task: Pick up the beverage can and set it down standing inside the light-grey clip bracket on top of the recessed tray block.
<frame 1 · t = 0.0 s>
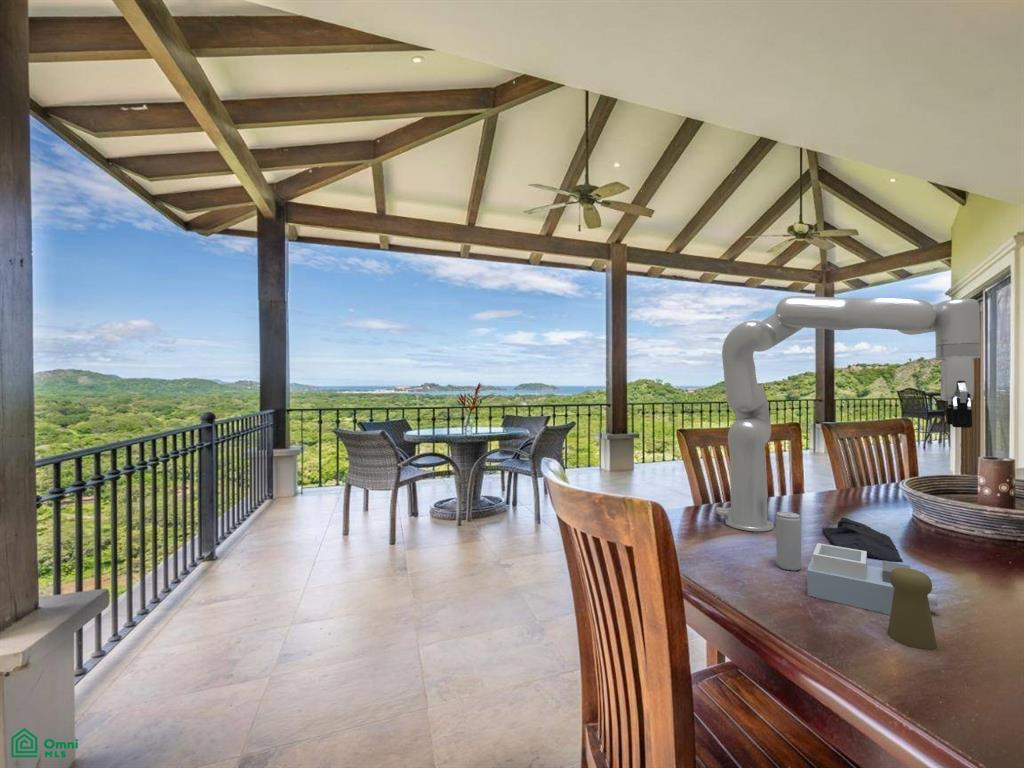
hand: (959, 425, 107), 31 cm above the table, tool pointing down, fingers open, 9 cm apart
olive pepper mill: (911, 640, 74), on the table
recessed tray block: (859, 597, 89), on the table
beverage can: (789, 568, 104), on the table
dark slate chunk: (859, 547, 118), on the table
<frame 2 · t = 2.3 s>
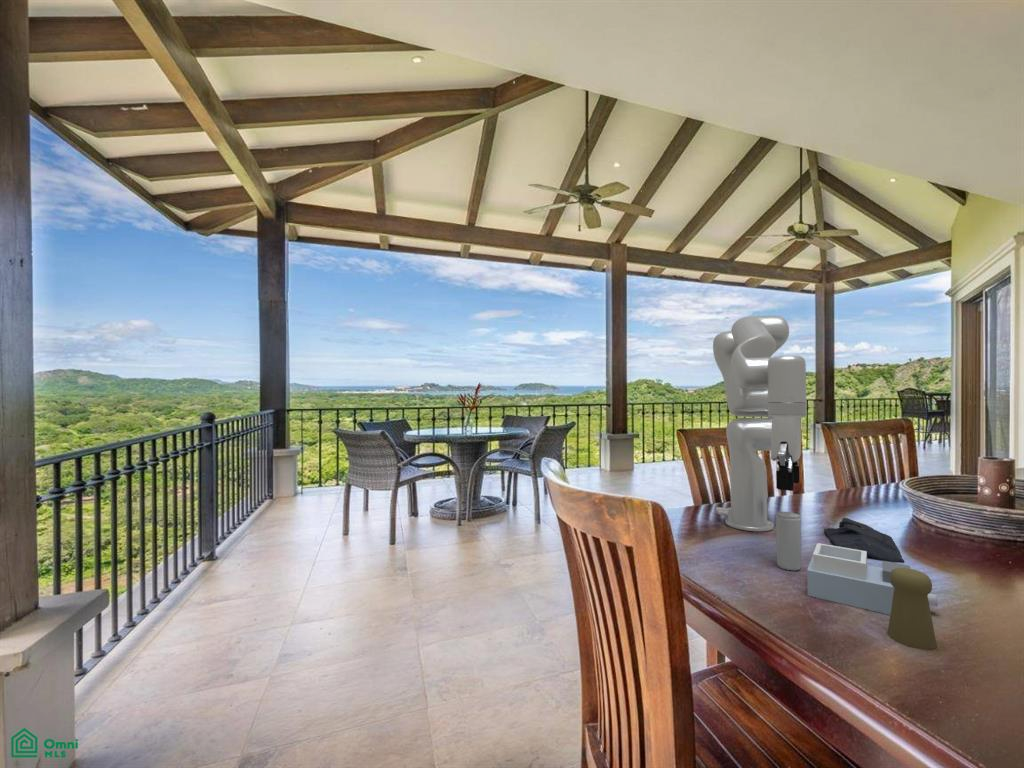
hand: (788, 486, 104), 18 cm above the table, tool pointing down, fingers open, 9 cm apart
nothing on the table moved.
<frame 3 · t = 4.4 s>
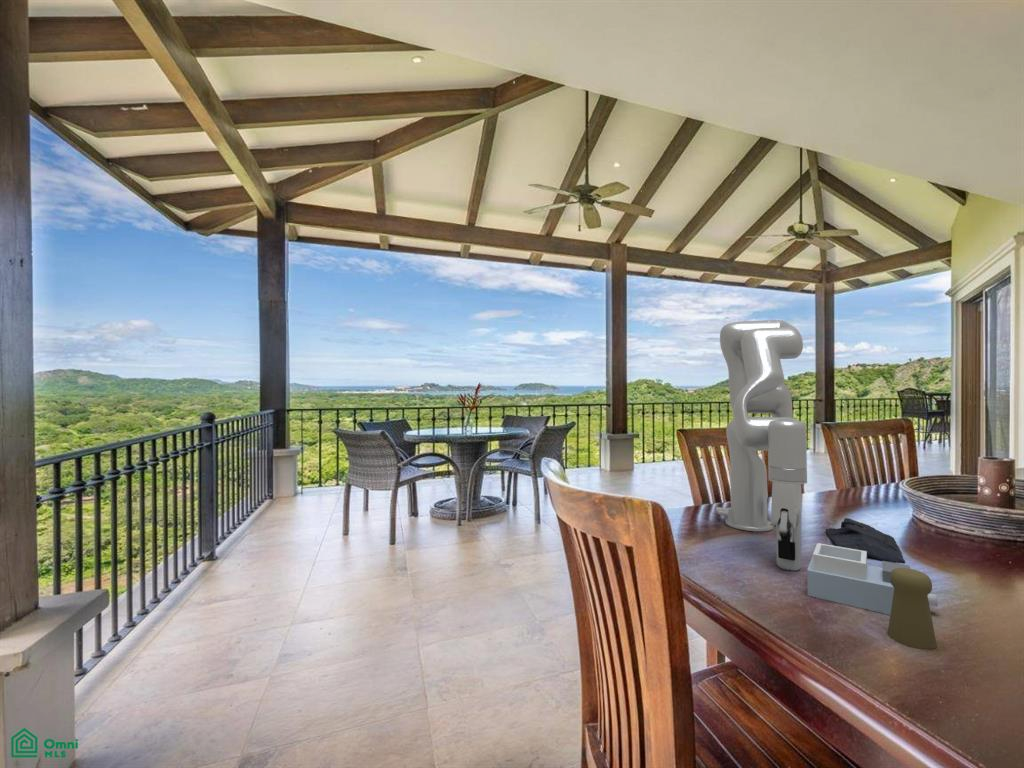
hand: (788, 554, 104), 3 cm above the table, tool pointing down, fingers closed on beverage can, 4 cm apart
beverage can: (789, 568, 104), on the table, touching gripper
everything else where it was.
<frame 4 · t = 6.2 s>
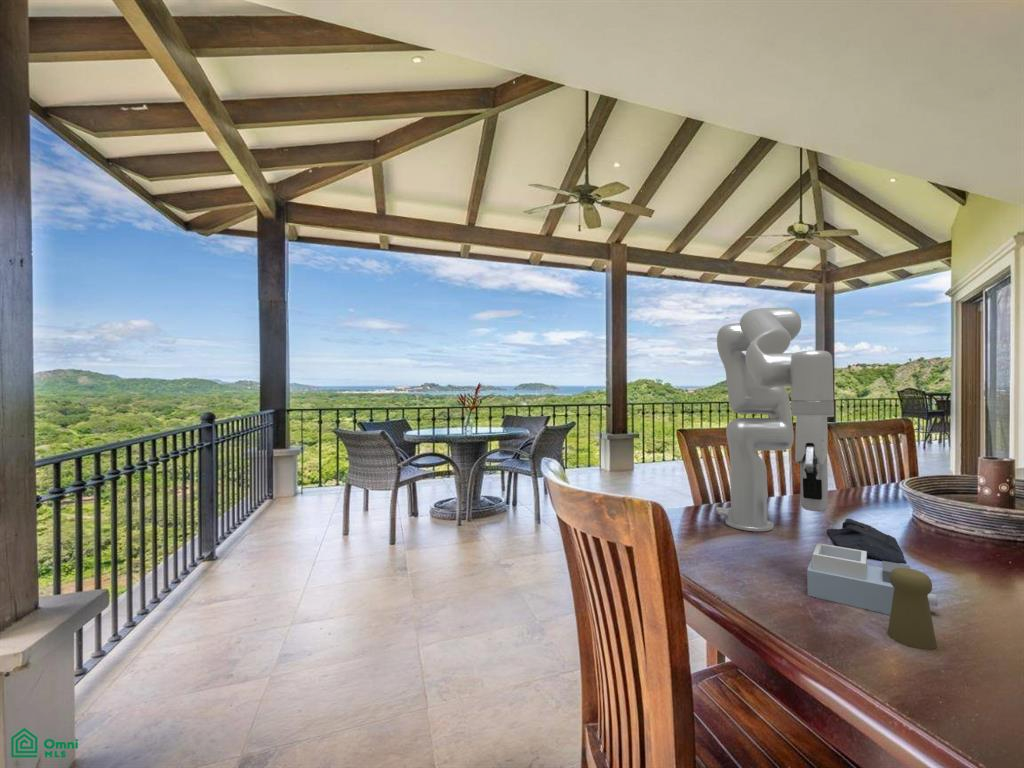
hand: (814, 495, 96), 18 cm above the table, tool pointing down, fingers closed on beverage can, 4 cm apart
beverage can: (814, 510, 96), point 15 cm above the table, touching gripper
everything else where it was.
when the fingers open (9 cm above the table, at t = 8.5 s): beverage can drops 1 cm, resting on recessed tray block.
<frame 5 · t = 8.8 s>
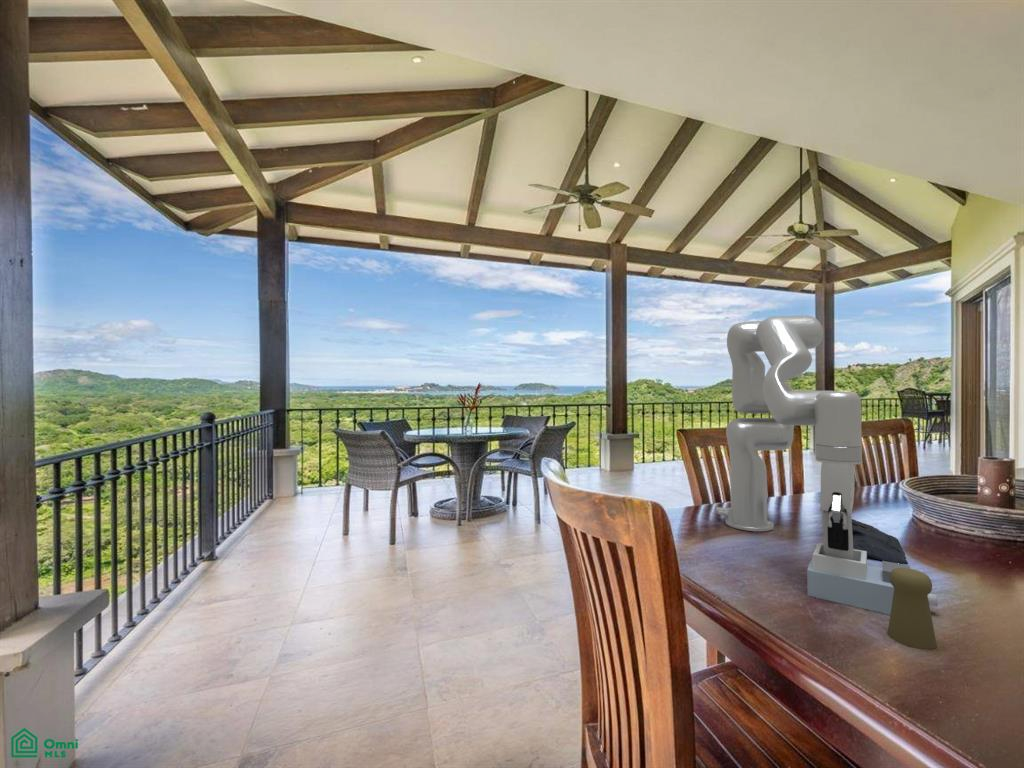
hand: (839, 542, 91), 10 cm above the table, tool pointing down, fingers open, 8 cm apart
beverage can: (839, 568, 91), point 5 cm above the table, touching recessed tray block
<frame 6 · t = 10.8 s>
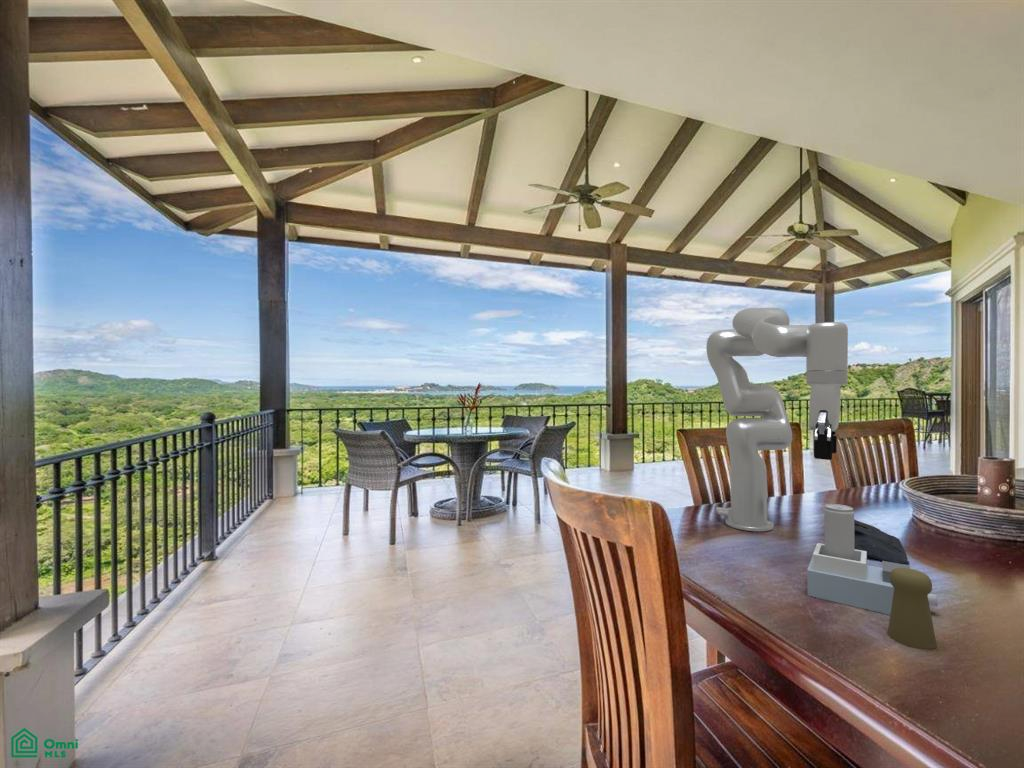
hand: (825, 455, 102), 25 cm above the table, tool pointing down, fingers open, 9 cm apart
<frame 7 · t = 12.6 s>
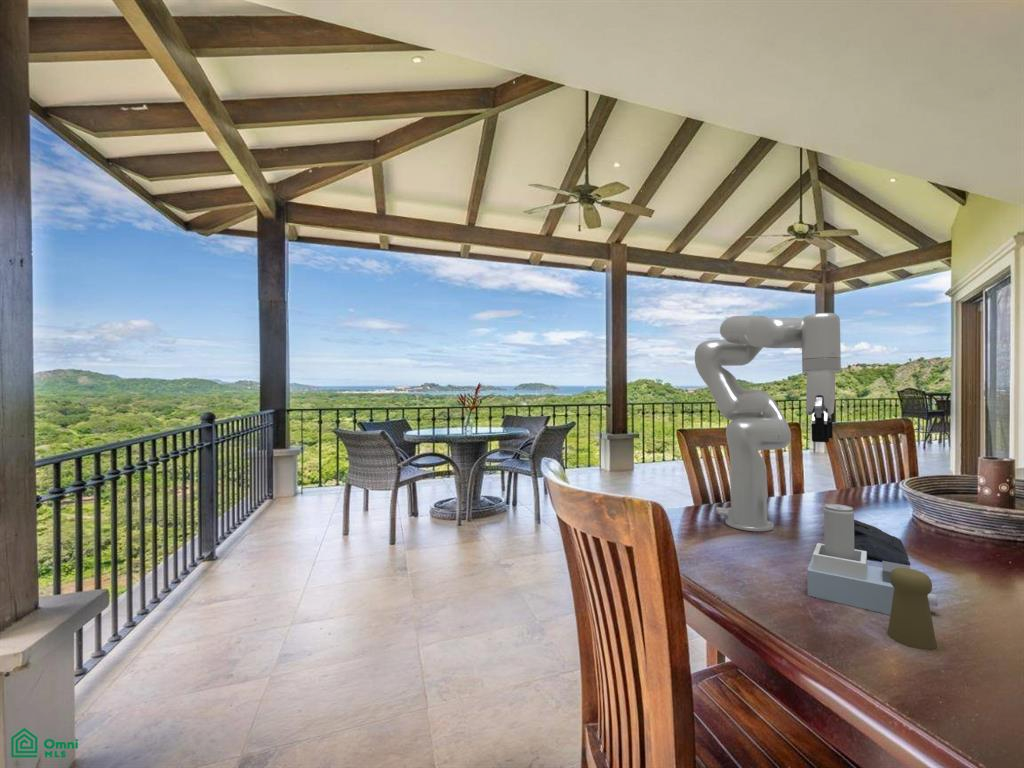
hand: (822, 439, 107), 28 cm above the table, tool pointing down, fingers open, 9 cm apart
at the end: beverage can 0.1 cm from the target spot on the recessed tray block, point 4.8 cm above the recessed tray block's base; beverage can tilted 0°; the gripper is holding nothing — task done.
